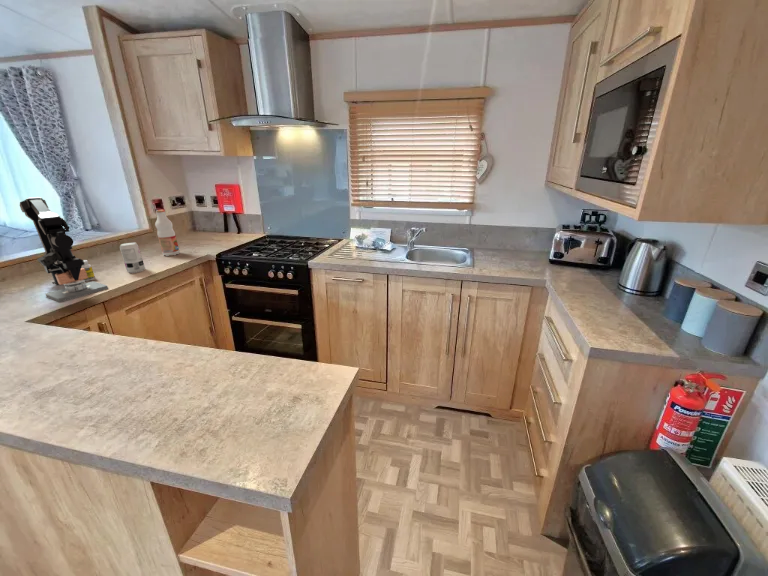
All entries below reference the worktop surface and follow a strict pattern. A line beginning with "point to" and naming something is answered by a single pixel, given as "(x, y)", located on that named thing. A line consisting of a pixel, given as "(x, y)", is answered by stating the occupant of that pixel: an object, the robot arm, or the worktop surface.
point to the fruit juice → (166, 234)
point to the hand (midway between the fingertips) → (73, 279)
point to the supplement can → (132, 257)
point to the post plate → (76, 292)
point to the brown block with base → (72, 280)
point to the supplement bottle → (88, 271)
